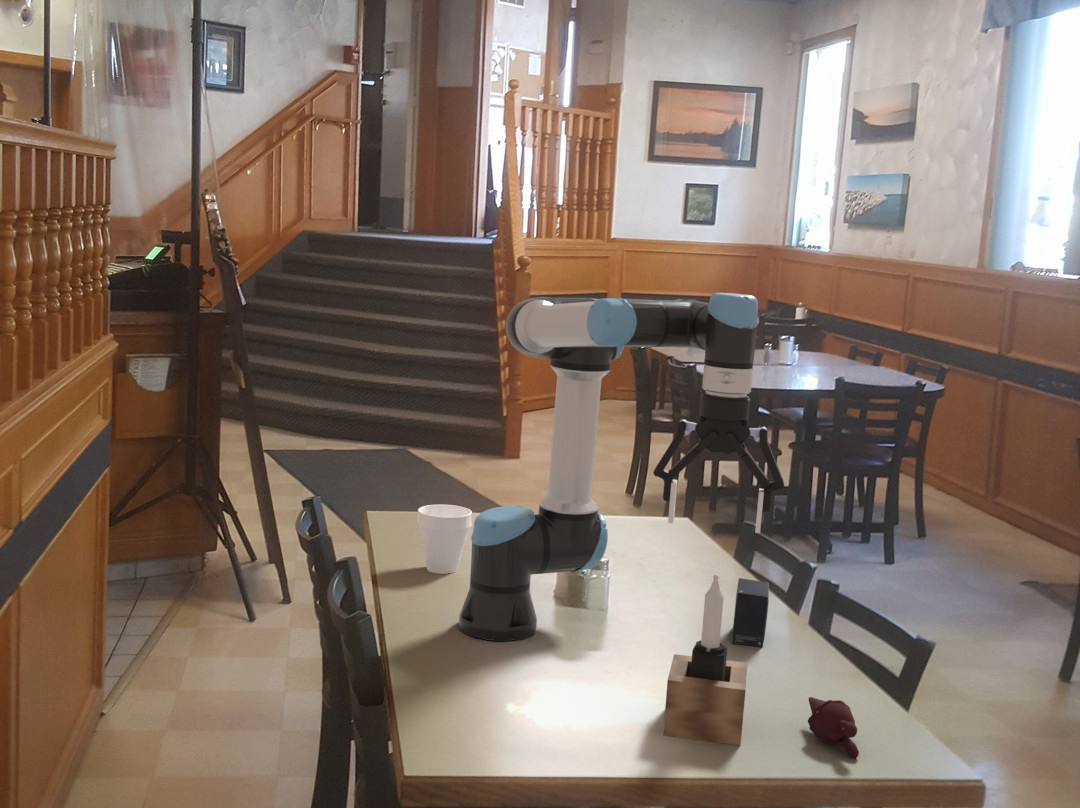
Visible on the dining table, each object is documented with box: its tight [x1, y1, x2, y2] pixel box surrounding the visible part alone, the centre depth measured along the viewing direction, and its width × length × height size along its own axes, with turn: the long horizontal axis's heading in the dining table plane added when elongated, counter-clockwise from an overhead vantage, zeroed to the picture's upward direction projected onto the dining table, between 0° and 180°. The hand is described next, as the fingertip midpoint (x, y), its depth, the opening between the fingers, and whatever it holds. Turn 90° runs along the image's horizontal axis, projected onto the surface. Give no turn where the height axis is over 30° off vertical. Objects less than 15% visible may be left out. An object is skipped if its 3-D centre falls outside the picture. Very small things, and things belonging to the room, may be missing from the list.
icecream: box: [807, 696, 860, 759], centre depth 186 cm, size 7×7×15 cm
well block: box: [662, 653, 748, 746], centre depth 188 cm, size 12×12×9 cm
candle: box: [690, 574, 728, 681], centre depth 187 cm, size 5×5×25 cm
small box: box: [731, 577, 770, 648], centre depth 232 cm, size 11×6×10 cm, turn 168°
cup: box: [416, 504, 473, 575], centre depth 265 cm, size 12×12×14 cm
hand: (714, 526), depth 186 cm, fingers open, 13 cm apart
